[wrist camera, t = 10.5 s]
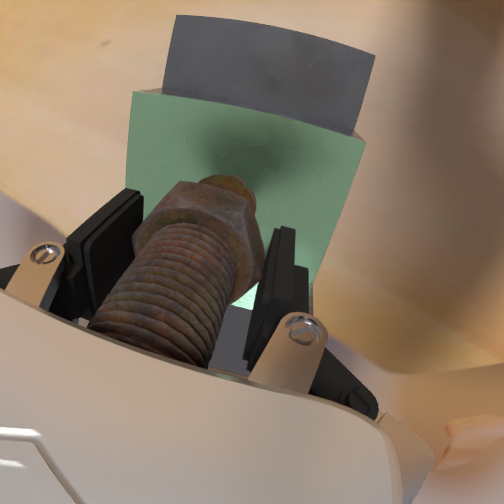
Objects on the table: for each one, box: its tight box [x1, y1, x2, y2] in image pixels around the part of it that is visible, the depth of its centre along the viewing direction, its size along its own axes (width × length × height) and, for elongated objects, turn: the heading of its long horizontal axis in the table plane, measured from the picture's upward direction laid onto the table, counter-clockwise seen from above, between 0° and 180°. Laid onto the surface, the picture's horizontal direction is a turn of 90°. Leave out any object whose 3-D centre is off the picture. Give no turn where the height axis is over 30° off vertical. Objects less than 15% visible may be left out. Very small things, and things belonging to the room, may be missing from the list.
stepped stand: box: [125, 15, 375, 376], centre depth 18 cm, size 20×12×10 cm, turn 168°
